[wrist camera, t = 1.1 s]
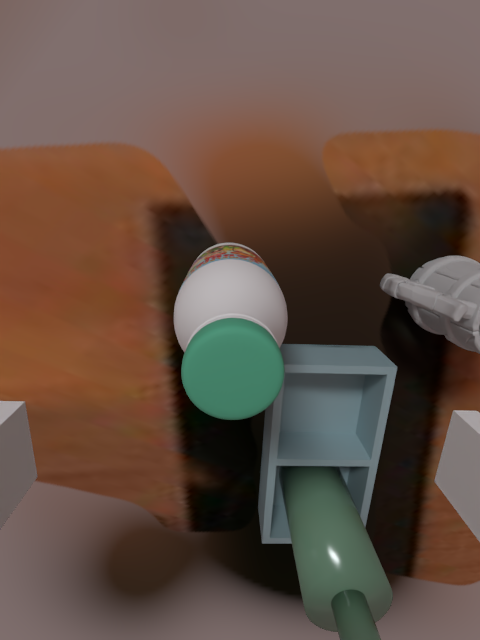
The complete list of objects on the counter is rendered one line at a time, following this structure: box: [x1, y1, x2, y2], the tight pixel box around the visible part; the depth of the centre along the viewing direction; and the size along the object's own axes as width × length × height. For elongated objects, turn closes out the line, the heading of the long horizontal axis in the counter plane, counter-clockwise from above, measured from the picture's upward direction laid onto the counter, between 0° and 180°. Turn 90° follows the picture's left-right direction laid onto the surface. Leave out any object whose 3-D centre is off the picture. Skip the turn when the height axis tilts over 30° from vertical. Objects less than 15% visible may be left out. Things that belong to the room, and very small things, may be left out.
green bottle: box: [279, 466, 393, 640], centre depth 32 cm, size 7×7×19 cm
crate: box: [258, 344, 397, 543], centre depth 37 cm, size 11×21×5 cm, turn 178°
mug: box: [380, 256, 480, 354], centre depth 29 cm, size 8×12×12 cm, turn 76°
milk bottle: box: [174, 243, 287, 420], centre depth 25 cm, size 8×8×20 cm
